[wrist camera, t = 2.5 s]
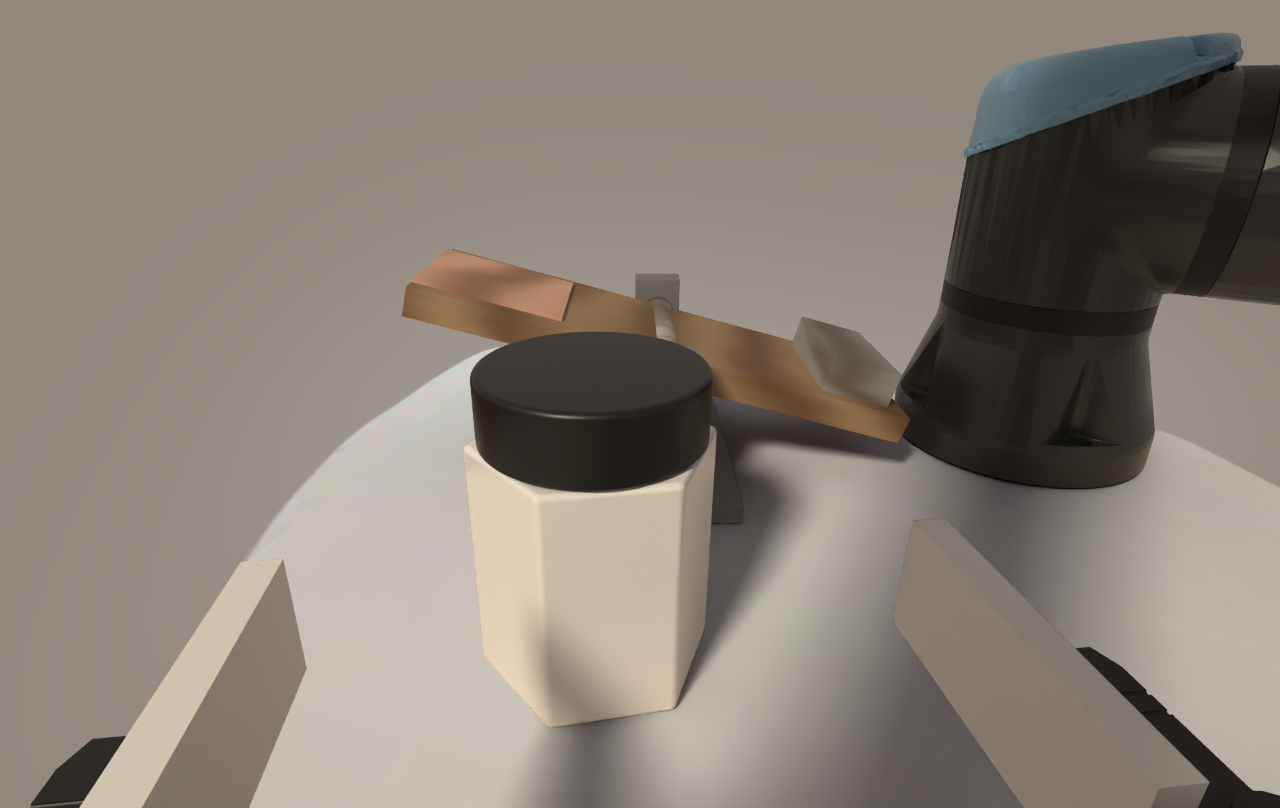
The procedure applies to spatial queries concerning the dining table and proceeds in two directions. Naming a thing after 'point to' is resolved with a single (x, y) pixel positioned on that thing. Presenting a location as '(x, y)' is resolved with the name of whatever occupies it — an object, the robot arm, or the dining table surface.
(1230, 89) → the robot arm
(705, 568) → the jar
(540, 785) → the dining table surface
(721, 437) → the pivot stand
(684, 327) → the beam
